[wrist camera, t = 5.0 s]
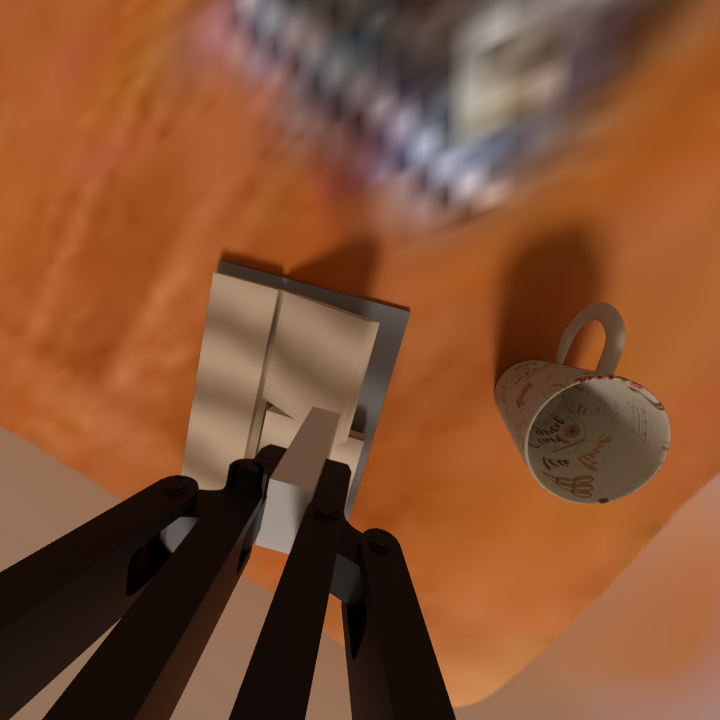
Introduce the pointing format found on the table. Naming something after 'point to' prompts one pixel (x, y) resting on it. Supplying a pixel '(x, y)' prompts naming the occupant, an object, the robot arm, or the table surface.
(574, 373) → the mug
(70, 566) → the robot arm
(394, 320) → the laid row
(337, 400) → the plank
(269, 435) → the plank
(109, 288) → the table surface
